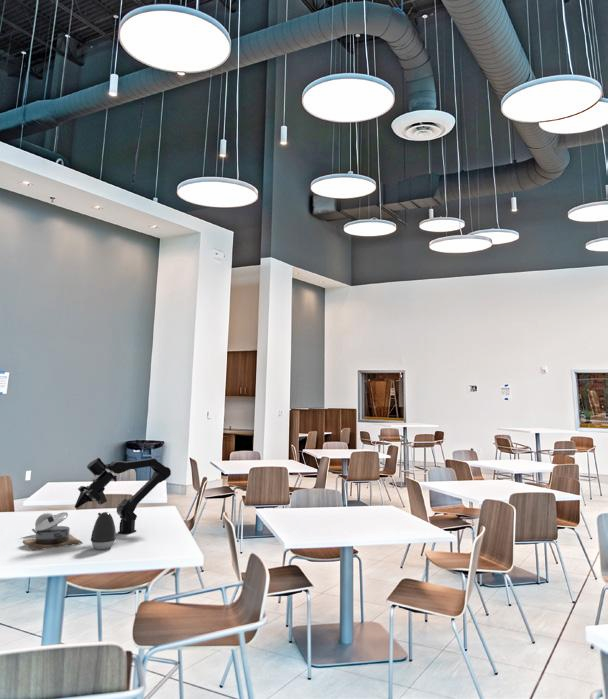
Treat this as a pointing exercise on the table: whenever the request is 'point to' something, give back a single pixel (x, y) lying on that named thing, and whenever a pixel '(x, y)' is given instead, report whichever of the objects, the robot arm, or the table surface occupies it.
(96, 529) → the dark grey egg shape
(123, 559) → the table surface
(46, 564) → the table surface
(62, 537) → the cooking pot
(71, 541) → the walnut trivet
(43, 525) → the cooker lid
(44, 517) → the donut
